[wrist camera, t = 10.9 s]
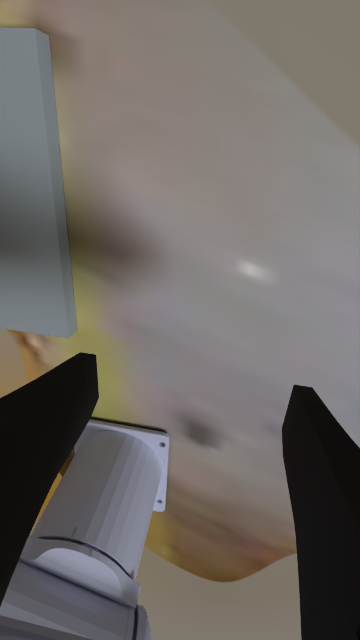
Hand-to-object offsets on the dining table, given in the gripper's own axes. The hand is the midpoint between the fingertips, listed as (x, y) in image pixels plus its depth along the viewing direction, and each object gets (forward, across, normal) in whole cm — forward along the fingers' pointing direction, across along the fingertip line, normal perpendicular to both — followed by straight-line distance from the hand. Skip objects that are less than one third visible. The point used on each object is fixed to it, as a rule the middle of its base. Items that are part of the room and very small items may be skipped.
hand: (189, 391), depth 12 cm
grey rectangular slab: (+9, +16, -4) cm, 19 cm away
